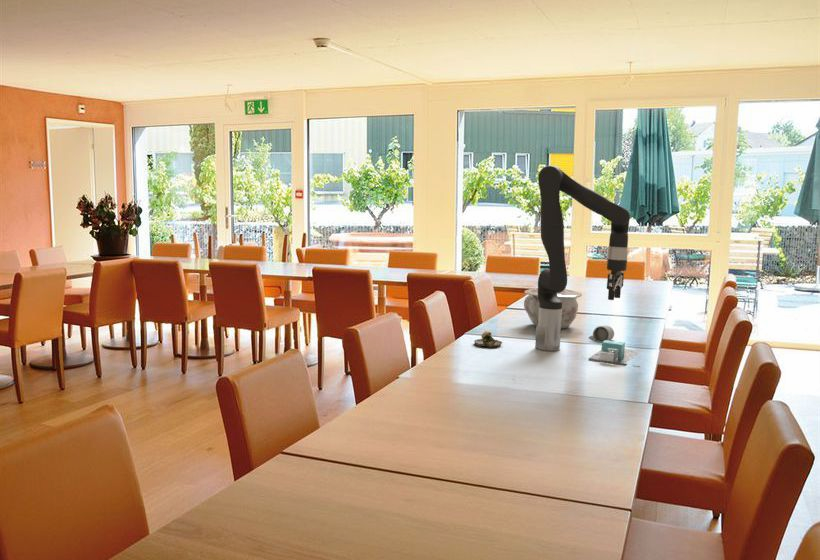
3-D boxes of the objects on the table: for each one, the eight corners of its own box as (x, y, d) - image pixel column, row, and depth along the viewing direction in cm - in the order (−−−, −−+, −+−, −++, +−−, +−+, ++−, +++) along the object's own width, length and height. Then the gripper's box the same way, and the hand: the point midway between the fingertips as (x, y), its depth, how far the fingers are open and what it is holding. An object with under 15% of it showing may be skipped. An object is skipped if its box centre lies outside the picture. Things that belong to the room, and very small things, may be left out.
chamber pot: (575, 322, 351) (578, 282, 348) (583, 333, 324) (586, 289, 321) (519, 320, 353) (521, 279, 351) (523, 330, 326) (525, 287, 324)
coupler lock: (620, 360, 269) (621, 344, 268) (599, 356, 273) (600, 341, 272) (623, 357, 273) (624, 342, 272) (603, 354, 277) (604, 339, 276)
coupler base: (624, 366, 264) (625, 355, 263) (588, 360, 271) (589, 350, 270) (641, 353, 286) (641, 343, 285) (607, 348, 293) (607, 339, 292)
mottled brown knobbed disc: (479, 349, 286) (480, 331, 285) (469, 343, 297) (470, 326, 296) (506, 348, 289) (507, 330, 288) (495, 342, 300) (496, 325, 299)
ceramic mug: (614, 341, 308) (615, 325, 307) (608, 344, 302) (609, 327, 301) (592, 338, 314) (593, 322, 313) (585, 341, 308) (586, 324, 307)
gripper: (621, 260, 267) (618, 301, 269) (631, 258, 279) (628, 298, 281) (602, 258, 271) (599, 299, 273) (613, 256, 283) (610, 296, 285)
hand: (614, 298), depth 277 cm, fingers open, 8 cm apart
